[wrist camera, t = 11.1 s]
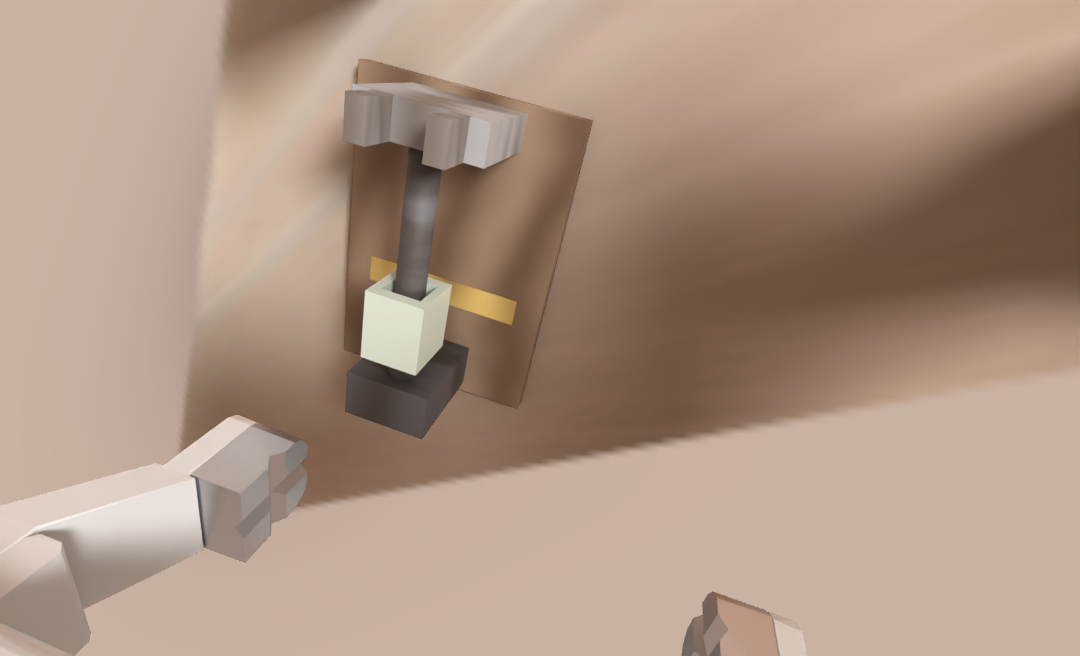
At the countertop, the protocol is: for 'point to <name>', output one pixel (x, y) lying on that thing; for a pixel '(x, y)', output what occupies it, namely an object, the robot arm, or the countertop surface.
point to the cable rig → (454, 231)
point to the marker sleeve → (404, 324)
